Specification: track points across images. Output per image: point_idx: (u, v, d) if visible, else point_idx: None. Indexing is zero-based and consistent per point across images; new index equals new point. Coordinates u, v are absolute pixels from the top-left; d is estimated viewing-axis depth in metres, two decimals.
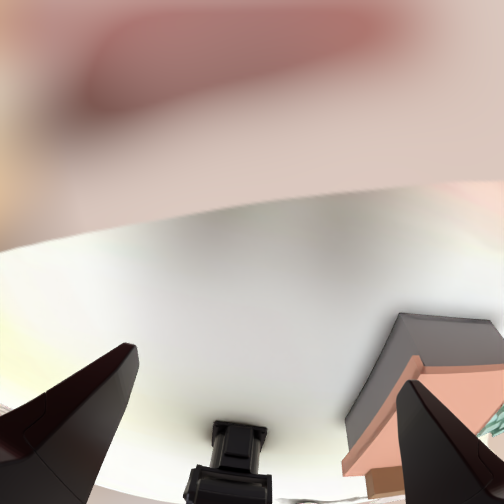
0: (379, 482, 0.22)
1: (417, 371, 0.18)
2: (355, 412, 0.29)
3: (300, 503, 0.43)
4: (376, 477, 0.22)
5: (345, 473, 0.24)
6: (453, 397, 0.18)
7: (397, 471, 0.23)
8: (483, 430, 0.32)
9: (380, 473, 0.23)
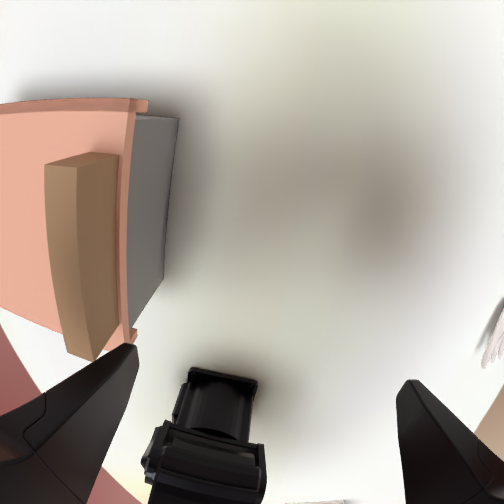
0: None
1: None
2: None
3: None
4: None
5: None
6: None
7: None
8: None
9: None
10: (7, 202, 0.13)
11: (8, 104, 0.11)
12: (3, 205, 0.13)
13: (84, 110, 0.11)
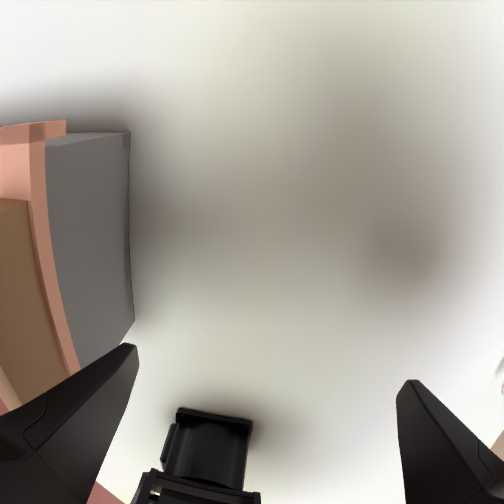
0: None
1: None
2: None
3: None
4: None
5: None
6: None
7: None
8: None
9: None
10: None
11: None
12: None
13: None
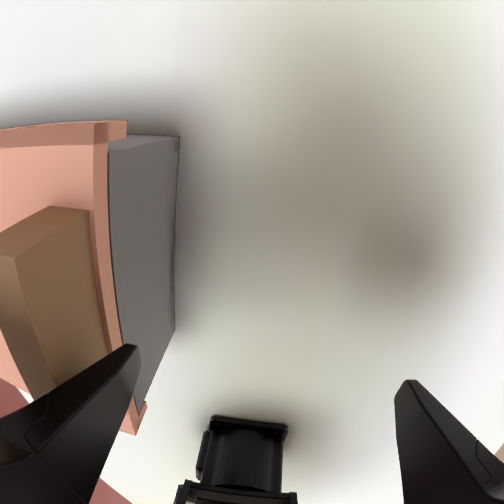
0: None
1: None
2: None
3: None
4: None
5: (123, 430, 0.13)
6: None
7: None
8: None
9: None
10: None
11: None
12: None
13: (35, 145, 0.07)
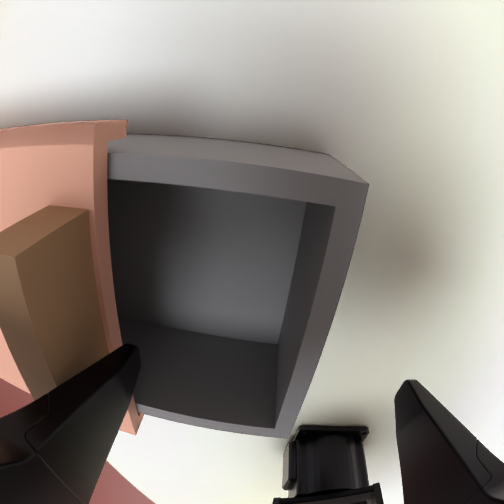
0: None
1: None
2: None
3: None
4: None
5: (123, 430, 0.13)
6: None
7: None
8: None
9: None
10: None
11: None
12: None
13: (35, 145, 0.07)
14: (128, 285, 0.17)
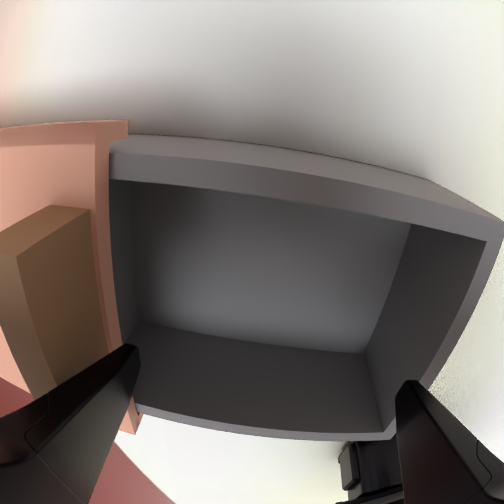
0: None
1: None
2: None
3: None
4: None
5: (122, 429, 0.13)
6: None
7: None
8: None
9: None
10: None
11: None
12: None
13: (36, 144, 0.07)
14: (220, 302, 0.17)
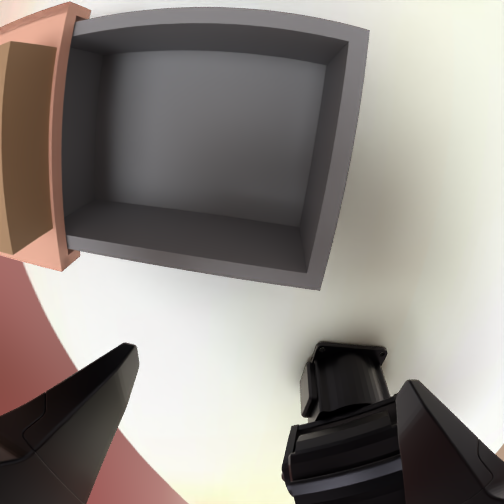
0: None
1: None
2: None
3: None
4: None
5: (53, 268, 0.14)
6: None
7: None
8: None
9: None
10: None
11: None
12: None
13: (34, 22, 0.09)
14: (161, 170, 0.19)
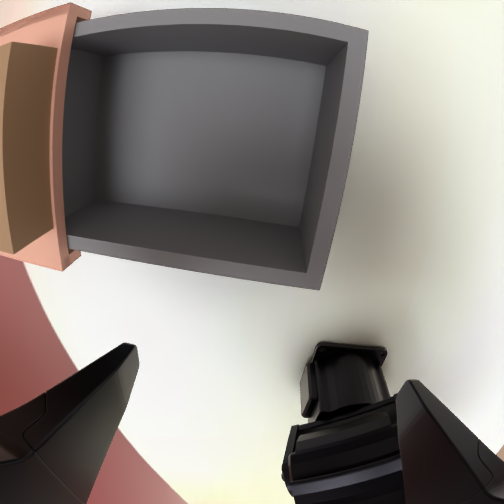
0: None
1: None
2: None
3: None
4: None
5: (53, 267, 0.14)
6: None
7: None
8: None
9: None
10: None
11: None
12: None
13: (35, 22, 0.09)
14: (161, 170, 0.19)
